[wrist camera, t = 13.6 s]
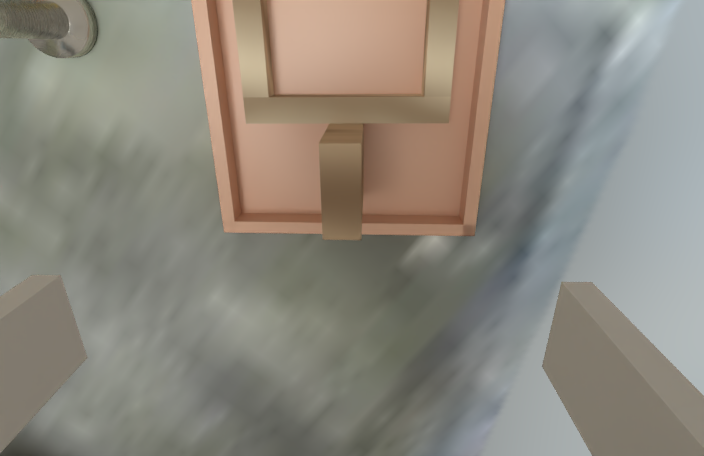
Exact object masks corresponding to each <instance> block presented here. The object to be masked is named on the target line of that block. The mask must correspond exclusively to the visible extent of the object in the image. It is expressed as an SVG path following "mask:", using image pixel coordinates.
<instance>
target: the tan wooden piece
mask: <svg viewBox="0 0 704 456" xmlns="http://www.w3.org/2000/svg"><path fill="white" fill-rule="evenodd" d="M232 2H233V11H234V20H235V29H236V38H237V47H238V56H239V65H240V74H241V83H242V92H243V101H244V110H245V119H246V124H329V125H328V127H327V129H326V131H325V133H324V135H323V136H322V138H321V140H320V142H319V163H320V187H321V211H322V235H323V240H361V234H362V214H363V156H364V123H449V113H450V101H451V90H452V78H453V66H454V54H455V43H456V31H457V19H458V7H459V0H427V6H426V23H425V41H424V58H423V76H422V93H421V94H301V95H274V86H273V74H272V62H271V50H270V38H269V25H268V13H267V1H266V0H232Z"/></svg>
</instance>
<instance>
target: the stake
mask: <svg viewBox="0 0 704 456" xmlns="http://www.w3.org/2000/svg"><path fill="white" fill-rule="evenodd" d="M0 38H18V39H28V40H29V41H30V42H31V43H32V44H33V45H34V46H35V47H36V48H37V49H39V50H40V51H42V52H43V53H45V54H47V55H49V56H52V57H57V58H74V57H80V56H83V55H85V54H87V53H88V52H89V51H90V50H91V49H92V48H93V46H94V44H95V42H96V38H97V22H96V18H95V15H94V13H93V10H92V8H91V7H90V5H89V3H88V2H87V1H86V0H0Z"/></svg>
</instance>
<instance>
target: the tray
mask: <svg viewBox="0 0 704 456" xmlns="http://www.w3.org/2000/svg"><path fill="white" fill-rule="evenodd" d="M266 1H267V13H268V25H269V38H270V50H271V62H272V74H273V86H274V95H301V94H421V93H422V76H423V58H424V41H425V23H426V6H427V0H266ZM191 2H192V9H193V16H194V23H195V30H196V37H197V44H198V51H199V58H200V65H201V72H202V79H203V86H204V93H205V100H206V107H207V114H208V121H209V128H210V135H211V142H212V150H213V157H214V164H215V171H216V178H217V185H218V192H219V199H220V206H221V213H222V220H223V227H224V232H232V233H300V234H322V211H321V187H320V163H319V142H320V140H321V138H322V136H323V135H324V133H325V131H326V129H327V127H328V125H329V124H246V119H245V110H244V101H243V92H242V83H241V74H240V65H239V56H238V47H237V38H236V29H235V20H234V11H233V2H232V0H191ZM504 5H505V0H459V7H458V19H457V31H456V43H455V54H454V66H453V78H452V90H451V101H450V113H449V123H364V156H363V214H362V234H368V235H436V236H475V228H476V220H477V213H478V205H479V197H480V190H481V182H482V174H483V167H484V159H485V151H486V144H487V136H488V128H489V121H490V113H491V105H492V98H493V90H494V82H495V75H496V67H497V59H498V51H499V44H500V36H501V28H502V21H503V13H504Z"/></svg>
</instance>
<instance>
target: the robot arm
mask: <svg viewBox="0 0 704 456" xmlns="http://www.w3.org/2000/svg"><path fill="white" fill-rule="evenodd" d="M86 359H87V355H86V352H85V349H84V346H83V343H82V339H81V336H80V333H79V330H78V327H77V324H76V321H75V318H74V315H73V312H72V309H71V306H70V302H69V299H68V296H67V293H66V290H65V287H64V284H63V281H62V278H61V275H32V276H30V277H29V278H27V279H26V280H24V281H23V282H21V283H20V284H18V285H17V286H15V287H14V288H12V289H11V290H9V291H8V292H6V293H5V294H3V295H2V296H0V453H1V452H2V451H3V450H4V449H5V448H6V446H7V445H8V444H9V443H10V442H11V441H12V440H13V439H14V438H15V437H16V435H17V434H18V433H19V432H20V431H21V430H22V429H23V428H24V427H25V426H26V424H27V423H28V422H29V421H30V420H31V419H32V418H33V417H34V416H35V415H36V414H37V412H38V411H39V410H40V409H41V408H42V407H43V406H44V405H45V404H46V403H47V401H48V400H49V399H50V398H51V397H52V396H53V395H54V394H55V393H56V392H57V390H58V389H59V388H60V387H61V386H62V385H63V384H64V383H65V382H66V381H67V379H68V378H69V377H70V376H71V375H72V374H73V373H74V372H75V371H76V370H77V369H78V367H79V366H80V365H81V364H82V363H83V362H84V361H85V360H86ZM542 367H543V369H544V371H545V372H546V374H547V376H548V378H549V379H550V381H551V383H552V385H553V387H554V388H555V390H556V392H557V394H558V395H559V397H560V399H561V401H562V403H563V404H564V406H565V408H566V410H567V411H568V413H569V415H570V417H571V419H572V420H573V422H574V424H575V426H576V427H577V429H578V431H579V433H580V434H581V436H582V438H583V440H584V442H585V443H586V445H587V447H588V449H589V450H590V452H591V454H592V456H704V396H703V395H702V394H701V393H700V392H699V391H698V390H697V389H696V388H695V387H694V386H693V385H692V384H691V382H689V380H688V379H686V377H685V376H684V375H683V374H682V373H681V372H680V371H679V370H678V369H677V368H676V367H675V366H673V364H672V363H671V362H670V361H669V360H668V359H667V358H666V357H665V356H664V355H663V354H662V353H661V352H660V351H659V350H658V349H657V348H656V347H655V346H654V345H653V344H652V343H651V342H650V341H649V340H648V339H647V338H646V337H645V336H644V335H643V334H642V333H641V332H640V331H639V330H638V329H637V328H636V327H635V326H634V325H633V324H632V323H631V322H630V321H629V320H628V319H627V317H625V316H624V314H623V313H622V312H620V310H619V309H618V308H617V307H616V306H615V305H614V304H613V303H612V302H611V301H610V300H609V299H608V298H607V297H606V296H605V295H604V294H603V293H602V292H601V291H600V290H599V289H598V288H597V287H596V286H595V285H594V284H593V283H592V282H561V287H560V291H559V295H558V300H557V304H556V308H555V313H554V318H553V322H552V326H551V330H550V334H549V339H548V343H547V347H546V352H545V357H544V360H543V365H542Z"/></svg>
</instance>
